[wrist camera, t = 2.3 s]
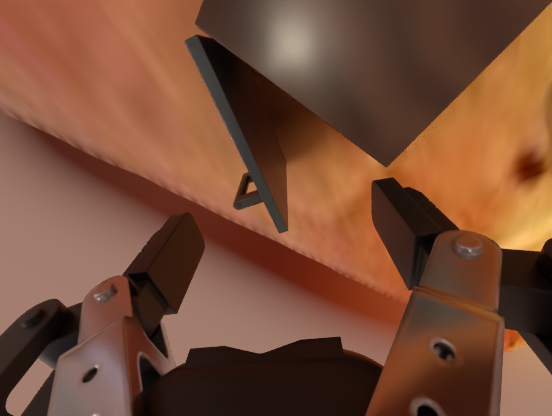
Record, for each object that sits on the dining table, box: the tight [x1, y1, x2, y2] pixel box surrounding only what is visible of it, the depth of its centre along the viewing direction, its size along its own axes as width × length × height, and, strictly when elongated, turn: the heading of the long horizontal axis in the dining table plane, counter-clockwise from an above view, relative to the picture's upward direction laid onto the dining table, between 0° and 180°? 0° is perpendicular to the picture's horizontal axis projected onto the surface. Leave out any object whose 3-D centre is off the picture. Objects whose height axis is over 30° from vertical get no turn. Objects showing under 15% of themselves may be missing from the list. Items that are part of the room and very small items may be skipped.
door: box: [185, 35, 288, 233], centre depth 27 cm, size 6×17×18 cm, turn 22°
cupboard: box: [195, 0, 552, 167], centre depth 21 cm, size 13×17×18 cm
